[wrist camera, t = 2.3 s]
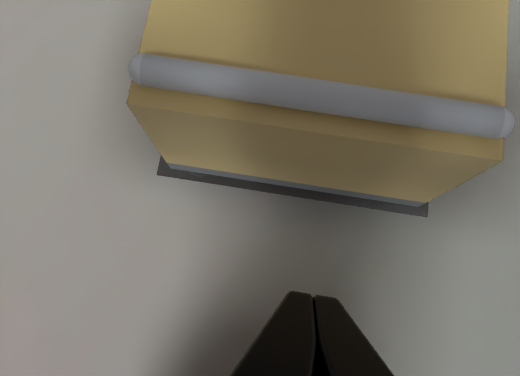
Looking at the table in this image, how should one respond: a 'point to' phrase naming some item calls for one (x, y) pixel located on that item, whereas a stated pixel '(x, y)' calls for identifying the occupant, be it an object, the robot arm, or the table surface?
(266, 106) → the yellow box
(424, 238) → the table surface
